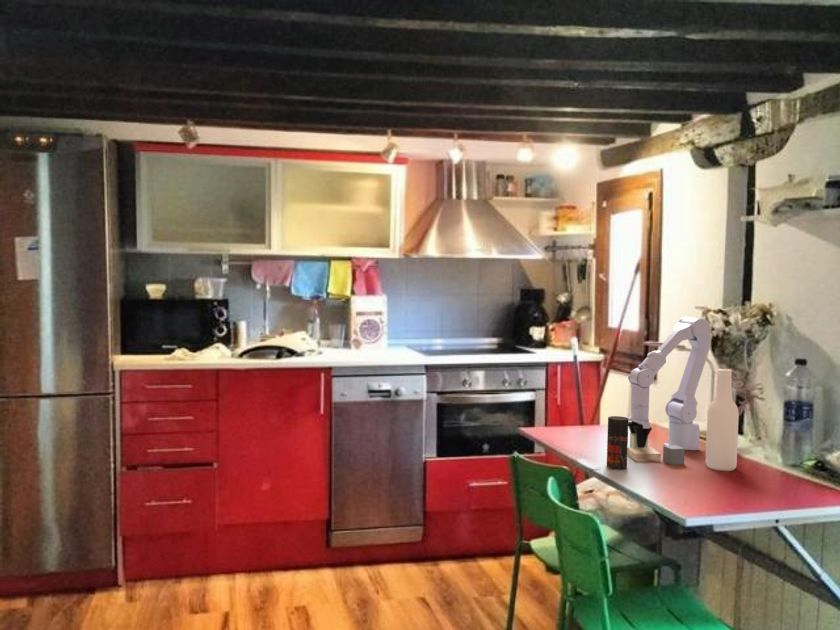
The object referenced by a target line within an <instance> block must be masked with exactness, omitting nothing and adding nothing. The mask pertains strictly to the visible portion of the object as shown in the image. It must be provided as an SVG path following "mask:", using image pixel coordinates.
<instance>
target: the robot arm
mask: <svg viewBox="0 0 840 630" xmlns="http://www.w3.org/2000/svg"><path fill="white" fill-rule="evenodd" d="M712 329H713V327H712V326H711V325H710V322H709V321H708V320H707V319H705V318H703V317H701V318H699V317H691V316H683V317H680V319H679V320H678V322H676V324H674V327H673V330H672V331H671V333H669V335H668V336H667V337H666V339H665V340H664V341H663V342H662V344H661V345H660V346H659V348H658V349H657V350H653V351H651V352H648V353H647V354H646V358H645V359H644V360H643V361H642V362H641V363H639V364H638V365H637V366H638V367H636V368H633V369H632V370H631V372H630V373H629V375H628V376H627V379H628V381H629V383H630V388H631V390H630V395H631V396H630V413H629V417H628V416H627V417H626V418H628V419H629V420H628V430H629V432H630V433H636V438H637V446H638V448H644V447H645V444H646V441H647V437H648V438H649V435H650V433H651V431H652V430H653V428H652V427H651V422H650V418H649V417H650V416H649V415H650V413H649V412H650V388H651V385H653V383H654V381H655V376H656V375H657V373H658V372H659V371H660V370H661V369H662V368H663V367H664V365H666V363H667V357H668V356H669V355H670V354H671V353H672V351H674V350H675V348H677V346H679V345H680V344H681V342H683V341H688V343H689V345H690V346H691V349H690V353H689V356H688V358H687V360H686V365H685V366H684V367H685V368H684V370H683V373H682V376H681V379H680V383H679V385H678V386H679V387H678V390H677V391H675V392H674V393H673V394H671V398H670V399H669V400H668V402H666V405H665V410H664V411H665V414H666V416H668V443H667V442H664V443H663V446H669V445H677V446H680V447H682V448H685V451H700V450H701V448H700V435H701V433H700V432H701V431H700V425H699V422H697V421H694V420H695V419H696V417H697V415H698V411H697V407H698V401H697V399H696V397H695V395H696V393H697V388H698V386H699V383H700V379H701V376H702V374H703V371H704V368H705V366H706V365H705V364H706V361H707V357H708V355H709V352H710V350H711V333H712Z"/></svg>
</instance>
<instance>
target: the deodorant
mask: <svg viewBox="0 0 840 630" xmlns="http://www.w3.org/2000/svg"><path fill="white" fill-rule="evenodd" d="M628 422H629V419H628V418H627V417H625V416H618V415H611V416H608V417H607V440H606V444H607V445H606V468H607V467H608V468H607V469H609V470H610V469H611V470H615V471H623V470H626V469H628V455H627V450H628V448H629V447H628V446H629V445H628V444H629V426H628Z"/></svg>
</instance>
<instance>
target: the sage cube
mask: <svg viewBox="0 0 840 630" xmlns="http://www.w3.org/2000/svg"><path fill="white" fill-rule="evenodd" d="M648 443H649V436H648V437H647V441H646V444H645V447H644V448H649V447H648V446H649V445H648ZM629 448H638V446H637V438H636V433H631V432H630V434H629Z"/></svg>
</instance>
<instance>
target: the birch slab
mask: <svg viewBox="0 0 840 630" xmlns="http://www.w3.org/2000/svg"><path fill="white" fill-rule="evenodd" d="M627 457H629V458H630V459H632V460H633V461H634V462H662V461H661V460H662V458H661V457H662V454H661V452H659V451H658V450H657V449H654V448H653V447H648V448H630V447H628V450H627Z"/></svg>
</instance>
